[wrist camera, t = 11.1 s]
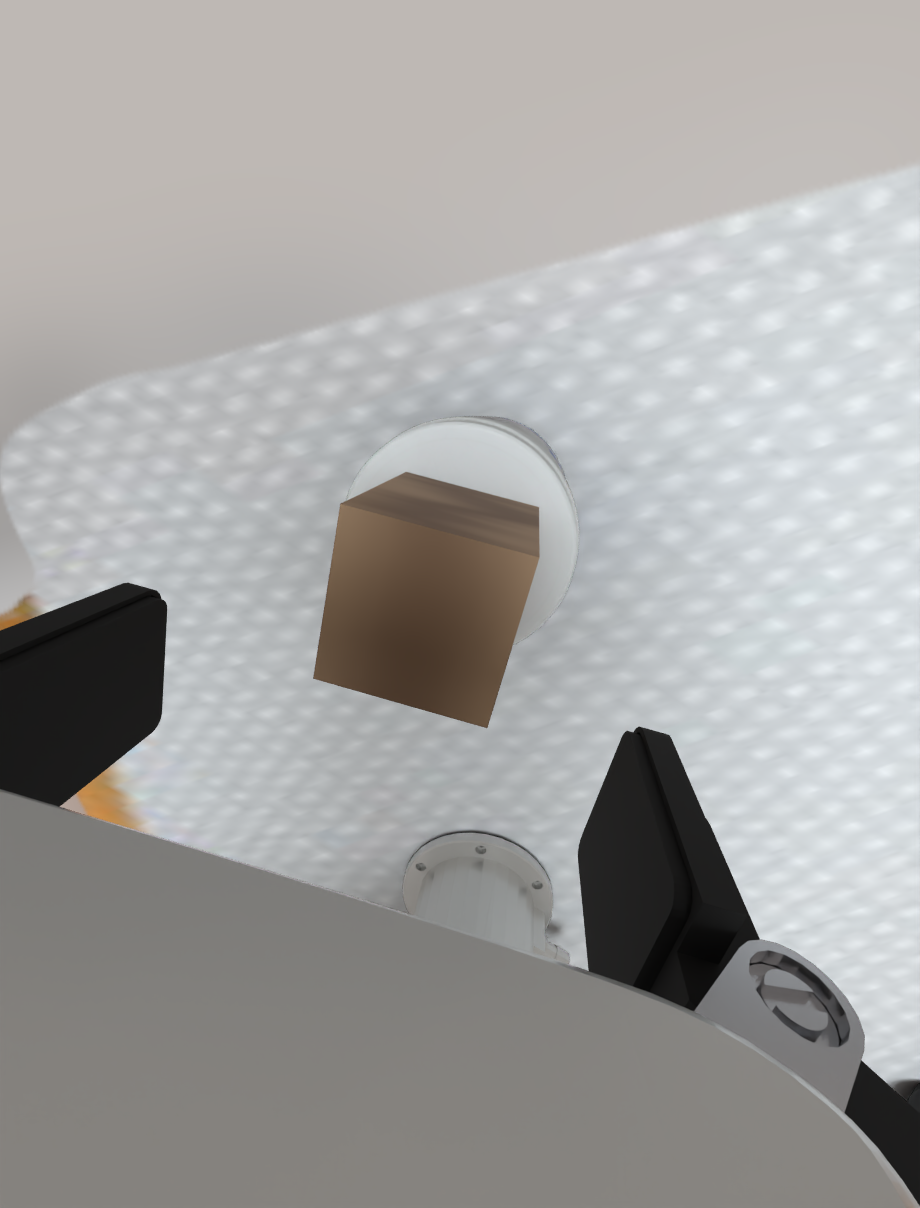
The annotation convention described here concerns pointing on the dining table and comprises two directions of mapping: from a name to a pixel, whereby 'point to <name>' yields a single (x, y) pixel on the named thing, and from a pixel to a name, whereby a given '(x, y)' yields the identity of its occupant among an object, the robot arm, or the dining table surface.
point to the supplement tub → (494, 489)
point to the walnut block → (427, 594)
